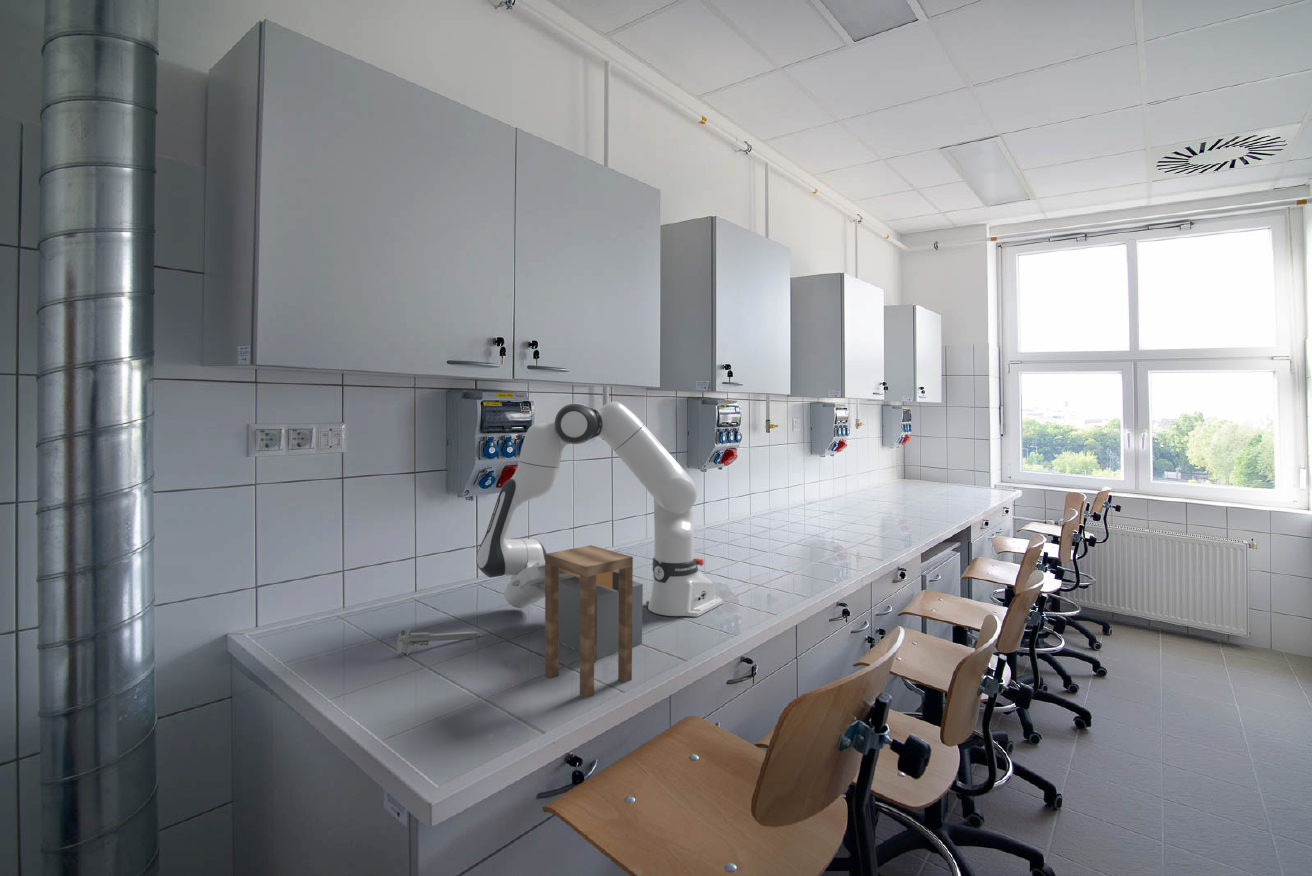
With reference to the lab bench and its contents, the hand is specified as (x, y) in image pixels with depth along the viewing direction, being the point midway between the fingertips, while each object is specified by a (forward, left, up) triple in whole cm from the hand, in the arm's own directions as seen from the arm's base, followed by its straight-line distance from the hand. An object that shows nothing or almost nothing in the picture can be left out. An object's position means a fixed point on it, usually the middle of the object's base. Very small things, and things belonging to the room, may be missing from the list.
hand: (571, 561), depth 156 cm
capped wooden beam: (0, +8, -2) cm, 9 cm away
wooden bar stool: (+12, +22, -18) cm, 31 cm away
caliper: (+27, -15, -19) cm, 36 cm away
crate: (-2, +8, -18) cm, 20 cm away
